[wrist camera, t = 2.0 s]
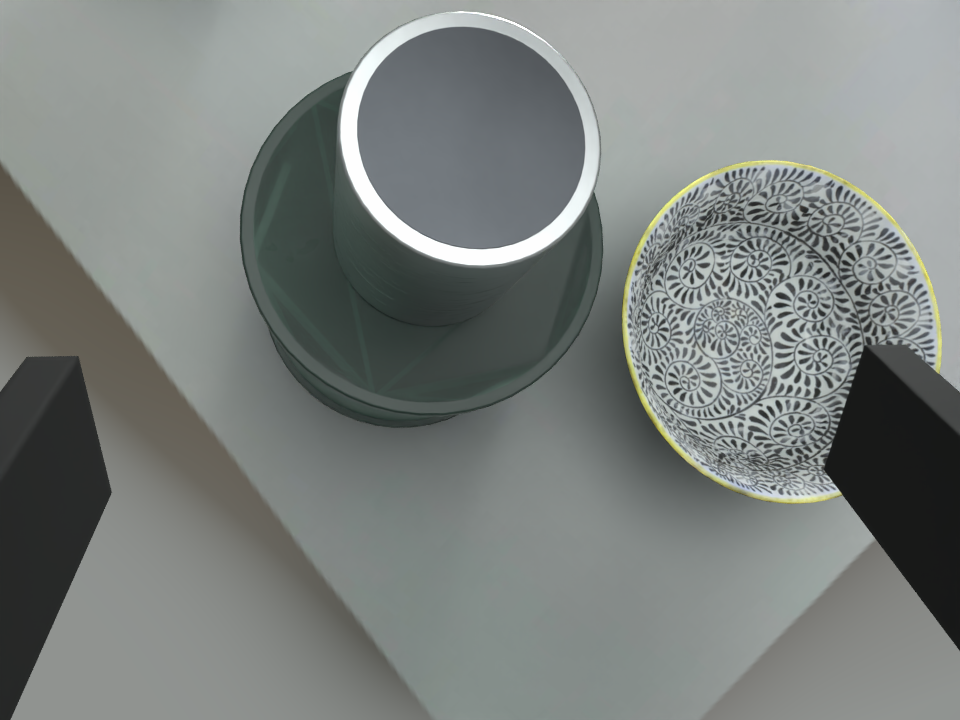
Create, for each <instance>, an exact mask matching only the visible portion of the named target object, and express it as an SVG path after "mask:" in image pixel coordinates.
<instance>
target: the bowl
mask: <svg viewBox="0 0 960 720" xmlns="http://www.w3.org/2000/svg"><path fill="white" fill-rule="evenodd" d="M622 335H623V344H624V350H625V355H626V360H627V364H628V368H629V371H630V375H631V378H632V381H633V384H634V386H635V389H636V391H637V394H638V396H639V398H640V400H641V403H642V405H643V407H644V408H645V410H646V412H647V414H648V416H649V417H650V419H651V421H652V422H653V424H654V425H655V426H656V428H657V429H658V431H659V432H660V433H661V435H662V436H663V437H664V438H665V440H666V441H667V442H668V443H669V444H670V446H671V447H672V448H673V449H674V450H675V451H676V452H677V453H678V454H679V455H680V456H681V457H682V458H683V459H685V460H686V461H687V462H688V463H689V464H690V465H692V466H693V467H694V468H696V469H697V470H698V471H699V472H701V473H702V474H704V475H705V476H707V477H708V478H710V479H711V480H713V481H715V482H716V483H718V484H720V485H721V486H724V487H726V488H728V489H730V490H732V491H735V492H737V493H740V494H743V495H745V496H748V497H752V498H755V499H759V500H763V501H768V502H777V503H787V504H796V503H811V502H818V501H824V500H829V499H832V498H836V497H839V496H842V494H841V492H840V491H839V490H838V488H837V487H836V486H835V484H834V483H833V482H832V480H831V479H830V478H829V476H828V475H827V474H826V472H825V471H824V467H825V463H826V460H827V457H828V454H829V451H830V448H831V445H832V442H833V439H834V436H835V433H836V430H837V427H838V424H839V421H840V418H841V415H842V412H843V409H844V406H845V403H846V400H847V397H848V394H849V391H850V388H851V385H852V382H853V379H854V376H855V373H856V370H857V367H858V364H859V361H860V358H861V355H862V352H863V349H864V346H865V345H904V344H906V345H907V346H908V347H909V348H910V349H911V350H912V351H913V352H915V353H916V354H917V355H918V356H919V357H920V358H921V359H923V360H924V361H925V362H926V363H927V364H928V365H929V366H931V367H932V368H933V369H934V370H935V371H936V372H937V373H938V374H939V373H940V366H941V348H942V340H941V324H940V318H939V312H938V307H937V302H936V298H935V295H934V291H933V288H932V284H931V282H930V279H929V276H928V274H927V271H926V269H925V267H924V264H923V262H922V261H921V259H920V257H919V255H918V253H917V251H916V249H915V248H914V246H913V245H912V243H911V241H910V240H909V238H908V237H907V236H906V234H905V233H904V232H903V230H902V229H901V228H900V226H899V225H898V224H897V222H896V221H895V220H894V219H893V218H892V217H891V216H890V215H889V214H888V213H887V212H886V211H885V210H884V209H883V208H882V207H881V206H880V205H879V204H878V203H877V202H876V201H874V200H873V199H872V198H871V197H869V196H868V195H867V194H865V193H864V192H863V191H862V190H860V189H859V188H857V187H856V186H854V185H852V184H851V183H849V182H848V181H846V180H844V179H842V178H840V177H838V176H836V175H834V174H831V173H829V172H827V171H824V170H821V169H818V168H815V167H812V166H810V165H803V164H798V163H793V162H788V161H776V160H765V161H750V162H743V163H738V164H734V165H731V166H727V167H724V168H722V169H718V170H716V171H713V172H711V173H709V174H707V175H705V176H703V177H701V178H699V179H698V180H696V181H695V182H693V183H691V184H690V185H688V186H687V187H686V188H684V189H683V190H682V191H680V192H679V193H678V194H677V195H675V196H674V197H673V198H672V199H671V200H670V201H669V202H668V203H667V204H666V205H665V206H664V207H663V208H662V209H661V210H660V212H659V213H658V214H657V215H656V216H655V218H654V219H653V221H652V222H651V223H650V225H649V226H648V228H647V229H646V231H645V233H644V234H643V236H642V238H641V240H640V241H639V244H638V246H637V248H636V250H635V253H634V256H633V258H632V261H631V264H630V267H629V270H628V274H627V278H626V283H625V288H624V295H623V303H622Z"/></svg>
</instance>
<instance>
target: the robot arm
mask: <svg viewBox="0 0 960 720" xmlns="http://www.w3.org/2000/svg"><path fill="white" fill-rule="evenodd" d="M824 471H825V472H826V474H827V475H828V476H829V478H830V479H831V480H832V482H833V483H834V484H835V486H836V487H837V488H838V490H839V491H840V492H841V494H842V495H843V496H844V497H845V499H846V500H847V501H848V503H849V504H850V505H851V507H852V508H853V509H854V511H855V512H856V513H857V515H858V516H859V517H860V519H861V520H862V521H863V523H864V524H865V525H866V527H867V528H868V529H869V531H870V532H871V533H872V535H873V536H874V537H875V539H876V540H877V541H878V543H879V544H880V545H881V547H882V548H883V549H884V550H885V552H886V553H887V554H888V556H889V557H890V559H891V560H892V561H893V562H894V564H895V565H896V567H897V568H898V569H899V571H900V572H901V573H902V575H903V576H904V577H905V578H906V580H907V581H908V582H909V584H910V585H911V586H912V588H913V589H914V590H915V592H916V593H917V594H918V596H919V597H920V598H921V600H922V601H923V602H924V604H925V605H926V606H927V608H928V609H929V610H930V612H931V613H932V614H933V616H934V617H935V618H936V620H937V621H938V622H939V624H940V625H941V626H942V628H943V629H944V630H945V632H946V633H947V634H948V636H949V637H950V638H951V640H952V641H953V642H954V644H955V645H956V646H957V648H958V649H959V650H960V392H959V391H958V390H957V389H955V388H954V387H953V386H952V385H951V384H950V383H949V382H948V381H946V380H945V379H944V378H943V377H942V376H941V375H940V374H938V373H937V372H936V371H935V370H934V369H933V368H932V367H931V366H929V365H928V364H927V363H926V362H925V361H924V360H923V359H921V358H920V357H919V356H918V355H917V354H916V353H915V352H913V351H912V350H911V349H910V348H909V347H908V346H907V345H906V344H904V345H865V346H864V349H863V352H862V355H861V358H860V361H859V364H858V367H857V370H856V373H855V376H854V379H853V382H852V385H851V388H850V391H849V394H848V397H847V400H846V403H845V406H844V409H843V412H842V415H841V418H840V421H839V424H838V427H837V430H836V433H835V436H834V439H833V442H832V445H831V448H830V451H829V454H828V457H827V460H826V463H825V467H824ZM110 495H111V488H110V484H109V480H108V475H107V471H106V467H105V463H104V459H103V455H102V452H101V447H100V443H99V439H98V435H97V431H96V426H95V422H94V418H93V414H92V410H91V406H90V402H89V398H88V394H87V390H86V386H85V382H84V377H83V373H82V369H81V365H80V361H79V357H78V356H65V357H64V356H63V357H62V356H58V357H26V359H25V360H24V361H23V363H22V364H21V365H20V366H19V368H18V369H17V371H16V372H15V373H14V374H13V376H12V377H11V378H10V380H9V381H8V382H7V384H6V385H5V386H4V388H3V389H2V390H1V392H0V720H10V719H11V717H12V715H13V713H14V710H15V708H16V706H17V704H18V702H19V699H20V697H21V695H22V693H23V690H24V688H25V686H26V684H27V681H28V679H29V677H30V674H31V672H32V670H33V668H34V666H35V663H36V661H37V659H38V657H39V654H40V652H41V650H42V648H43V645H44V643H45V641H46V639H47V636H48V634H49V632H50V630H51V628H52V625H53V623H54V621H55V618H56V616H57V614H58V612H59V610H60V607H61V605H62V603H63V600H64V598H65V596H66V594H67V592H68V590H69V587H70V585H71V583H72V581H73V578H74V576H75V573H76V571H77V569H78V567H79V565H80V563H81V560H82V558H83V556H84V554H85V551H86V549H87V547H88V545H89V542H90V540H91V538H92V536H93V533H94V531H95V529H96V527H97V525H98V522H99V520H100V518H101V515H102V513H103V511H104V509H105V507H106V504H107V502H108V500H109V497H110Z"/></svg>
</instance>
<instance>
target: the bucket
mask: <svg viewBox="0 0 960 720" xmlns="http://www.w3.org/2000/svg"><path fill="white" fill-rule="evenodd" d="M352 72H353V71H351V72H348V73H346V74H344V75H342V76H340V77H337V78H335V79H333V80H331V81H329V82H327V83H325V84H324V85H322V86H320V87H319V88H317V89H316V90H314V91H313V92H311V93H310V94H308V95H307V96H305V97H304V98H303V99H302V100H301V101H300V102H298V103H297V104H296V105H295V106H294V107H293V108H291V109H290V110H289V111H288V112H287V114H286V115H285V116H284V117H283V118H282V119H281V120H280V121H279V123H278V124H277V125H276V126H275V127H274V128H273V130H272V132H271V133H270V135H269V136H268V138H267V139H266V141H265V142H264V144H263V145H262V147H261V149H260V151H259V153H258V155H257V157H256V159H255V161H254V163H253V166H252V168H251V170H250V174H249V177H248V180H247V183H246V187H245V190H244V195H243V201H242V207H241V214H240V244H241V252H242V260H243V266H244V269H245V273H246V277H247V281H248V284H249V288H250V290H251V293H252V295H253V297H254V300H255V302H256V305H257V307H258V309H259V312H260V314H261V316H262V317H263V319H264V321H265V322H266V324H267V326H268V328H269V331H270V335H271V337H272V339H273V342H274V344H275V347H276V349H277V351H278V353H279V355H280V357H281V358H282V360H283V362H284V363H285V365H286V367H287V368H288V369H289V371H290V372H291V373H292V375H293V376H294V377H295V378H296V380H297V381H298V382H299V383H300V384H301V385H302V386H303V387H304V388H305V389H306V390H307V391H308V392H309V393H310V394H311V395H313V396H314V397H315V398H317V399H318V400H319V401H321V402H322V403H323V404H325V405H326V406H328V407H330V408H331V409H333V410H335V411H337V412H339V413H340V414H342V415H345V416H347V417H350V418H352V419H355V420H357V421H361V422H365V423H369V424H372V425H377V426H385V427H417V426H424V425H430V424H433V423H437V422H441V421H444V420H447V419H450V418H452V417H454V416H456V415H459V414H463V413H468V412H471V411H475V410H478V409H482V408H485V407H488V406H491V405H493V404H496V403H498V402H500V401H503V400H505V399H507V398H510V397H512V396H514V395H515V394H517V393H519V392H520V391H522V390H524V389H525V388H527V387H528V386H530V385H532V384H533V383H534V382H536V381H537V380H538V379H539V378H541V377H542V376H543V375H544V374H545V373H547V372H548V371H549V370H550V369H551V368H552V367H553V366H554V365H555V364H556V363H557V362H558V361H559V360H560V359H561V358H562V356H563V355H564V354H565V353H566V352H567V350H568V349H569V348H570V346H571V345H572V343H573V342H574V341H575V339H576V338H577V336H578V335H579V333H580V331H581V329H582V327H583V325H584V324H585V322H586V320H587V318H588V316H589V313H590V311H591V308H592V305H593V302H594V300H595V297H596V294H597V290H598V285H599V280H600V276H601V269H602V258H603V236H602V224H601V219H600V213H599V207H598V203H597V200H596V197H595V193H594V192H593V195H592V198H591V200H590V202H589V204H588V206H587V208H586V210H585V211H584V213H583V215H582V216H581V218H580V219H579V220H578V222H577V223H576V224H575V226H574V227H573V228H572V229H571V230H570V231H569V232H568V233H567V234H566V235H565V236H564V237H563V238H562V239H561V240H560V241H559V242H558V243H557V244H556V245H555V246H554V247H553V248H552V249H551V250H550V251H549V252H548V253H546V254H545V255H544V256H543V257H542V258H541V259H540V260H539V261H538V262H537V263H536V264H535V265H534V266H533V267H532V268H531V269H530V270H529V271H528V272H526V273H525V274H524V275H523V276H522V277H521V278H520V279H519V280H518V281H517V282H516V283H515V284H514V285H513V286H512V287H511V288H510V289H509V290H508V291H507V292H505V293H504V294H503V295H502V296H501V297H500V298H499V299H498V300H497V301H496V302H495V303H494V304H493V305H491V306H490V307H489V308H488V309H486V310H485V311H483V312H482V313H480V314H478V315H476V316H475V317H473V318H470V319H468V320H465V321H463V322H459V323H455V324H451V325H444V326H421V325H414V324H409V323H406V322H402V321H399V320H397V319H394V318H392V317H390V316H387V315H386V314H384V313H382V312H381V311H379V310H377V309H376V308H374V307H373V306H372V305H370V304H369V303H368V302H367V301H366V300H365V299H364V298H363V297H362V296H360V295H359V294H358V293H357V291H356V290H355V289H354V287H353V286H352V285H351V284H350V282H349V281H348V279H347V277H346V276H345V274H344V272H343V270H342V268H341V266H340V263H339V261H338V258H337V254H336V251H335V247H334V240H333V209H334V188H335V166H336V145H337V123H338V115H339V108H340V103H341V99H342V96H343V92H344V89H345V86H346V84H347V82H348V80H349V78H350V76H351V73H352Z"/></svg>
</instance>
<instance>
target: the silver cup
mask: <svg viewBox="0 0 960 720" xmlns="http://www.w3.org/2000/svg"><path fill="white" fill-rule="evenodd" d="M600 161H601V138H600V131H599V126H598V120H597V117H596V113H595V110H594V107H593V104H592V102H591V99H590V97H589V95H588V93H587V90H586V88H585V87H584V85H583V83H582V82H581V80H580V78H579V77H578V75H577V74H576V72H575V71H574V70H573V68H572V67H571V66H570V65H569V63H568V62H567V61H566V60H565V59H564V58H563V57H562V56H561V55H560V54H559V53H558V52H557V51H556V50H555V49H554V48H553V47H552V46H551V45H549V44H548V43H547V42H546V41H544V40H543V39H542V38H540V37H539V36H537V35H536V34H534V33H532V32H531V31H529V30H528V29H526V28H524V27H521V26H519V25H517V24H515V23H513V22H511V21H508V20H505V19H502V18H499V17H496V16H491V15H487V14H482V13H474V12H463V11H462V12H443V13H437V14H431V15H427V16H424V17H421V18H417V19H414V20H412V21H410V22H407V23H405V24H403V25H401V26H399V27H397V28H396V29H394V30H392V31H391V32H389V33H388V34H386V35H385V36H383V37H382V38H381V39H380V40H379V41H377V42H376V43H375V44H374V45H373V46H372V47H371V48H370V49H369V50H368V51H367V52H366V53H365V55H364V56H363V57H362V58H361V59H360V61H359V62H358V64H357V65H356V67H355V69H354V70H353V72H352V73H351V76H350V78H349V80H348V82H347V84H346V86H345V89H344V92H343V96H342V99H341V103H340V108H339V115H338V123H337V145H336V166H335V188H334V209H333V240H334V247H335V251H336V254H337V258H338V261H339V263H340V266H341V268H342V270H343V272H344V274H345V276H346V277H347V279H348V281H349V282H350V284H351V285H352V286H353V287H354V289H355V290H356V291H357V293H358V294H359V295H360V296H362V297H363V298H364V299H365V300H366V301H367V302H368V303H369V304H370V305H372V306H373V307H374V308H376V309H377V310H379V311H381V312H382V313H384V314H386V315H387V316H390V317H392V318H394V319H397V320H399V321H402V322H406V323H409V324H414V325H421V326H444V325H451V324H455V323H459V322H463V321H465V320H468V319H470V318H473V317H475V316H476V315H478V314H480V313H482V312H483V311H485V310H486V309H488V308H489V307H490V306H491V305H493V304H494V303H495V302H496V301H497V300H498V299H499V298H500V297H501V296H502V295H503V294H504V293H505V292H507V291H508V290H509V289H510V288H511V287H512V286H513V285H514V284H515V283H516V282H517V281H518V280H519V279H520V278H521V277H522V276H523V275H524V274H525V273H526V272H528V271H529V270H530V269H531V268H532V267H533V266H534V265H535V264H536V263H537V262H538V261H539V260H540V259H541V258H542V257H543V256H544V255H545V254H546V253H548V252H549V251H550V250H551V249H552V248H553V247H554V246H555V245H556V244H557V243H558V242H559V241H560V240H561V239H562V238H563V237H564V236H565V235H566V234H567V233H568V232H569V231H570V230H571V229H572V228H573V227H574V226H575V224H576V223H577V222H578V220H579V219H580V218H581V216H582V215H583V213H584V211H585V210H586V208H587V206H588V204H589V202H590V200H591V198H592V195H593V192H594V190H595V187H596V184H597V180H598V175H599V171H600Z"/></svg>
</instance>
